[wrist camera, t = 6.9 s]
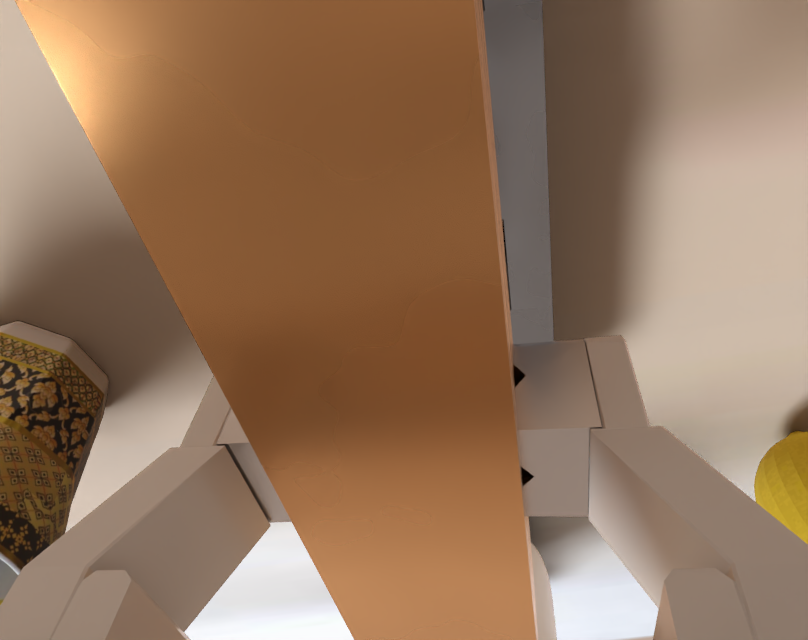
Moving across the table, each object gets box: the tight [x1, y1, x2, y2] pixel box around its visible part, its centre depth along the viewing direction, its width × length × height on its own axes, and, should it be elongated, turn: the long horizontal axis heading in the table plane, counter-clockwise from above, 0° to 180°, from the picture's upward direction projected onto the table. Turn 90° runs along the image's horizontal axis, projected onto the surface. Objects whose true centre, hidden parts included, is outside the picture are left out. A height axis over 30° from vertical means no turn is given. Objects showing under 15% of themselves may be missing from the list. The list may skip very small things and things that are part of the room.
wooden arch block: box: [15, 0, 538, 640], centre depth 10 cm, size 13×3×7 cm, turn 10°
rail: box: [482, 0, 554, 344], centre depth 18 cm, size 26×6×4 cm, turn 10°
